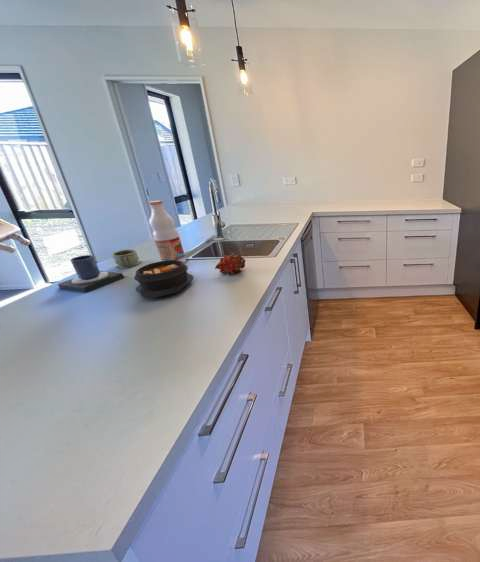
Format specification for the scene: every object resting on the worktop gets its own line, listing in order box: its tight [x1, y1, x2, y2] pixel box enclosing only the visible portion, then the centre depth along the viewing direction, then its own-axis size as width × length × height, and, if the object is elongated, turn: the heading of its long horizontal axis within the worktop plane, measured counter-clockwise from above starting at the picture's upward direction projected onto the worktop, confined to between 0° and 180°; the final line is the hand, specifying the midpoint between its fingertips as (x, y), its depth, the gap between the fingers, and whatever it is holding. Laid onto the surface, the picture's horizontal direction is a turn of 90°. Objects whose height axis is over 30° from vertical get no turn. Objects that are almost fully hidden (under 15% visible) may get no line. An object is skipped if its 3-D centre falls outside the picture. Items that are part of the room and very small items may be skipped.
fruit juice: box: [148, 200, 187, 264], centre depth 132 cm, size 9×9×28 cm
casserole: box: [133, 260, 194, 299], centre depth 112 cm, size 25×19×8 cm
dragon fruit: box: [214, 253, 246, 275], centre depth 125 cm, size 8×8×12 cm
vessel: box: [111, 248, 140, 269], centre depth 136 cm, size 12×9×6 cm
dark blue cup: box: [70, 254, 101, 280], centre depth 116 cm, size 6×6×8 cm
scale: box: [57, 270, 124, 293], centre depth 118 cm, size 14×14×3 cm
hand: (22, 247), depth 104 cm, fingers open, 8 cm apart
